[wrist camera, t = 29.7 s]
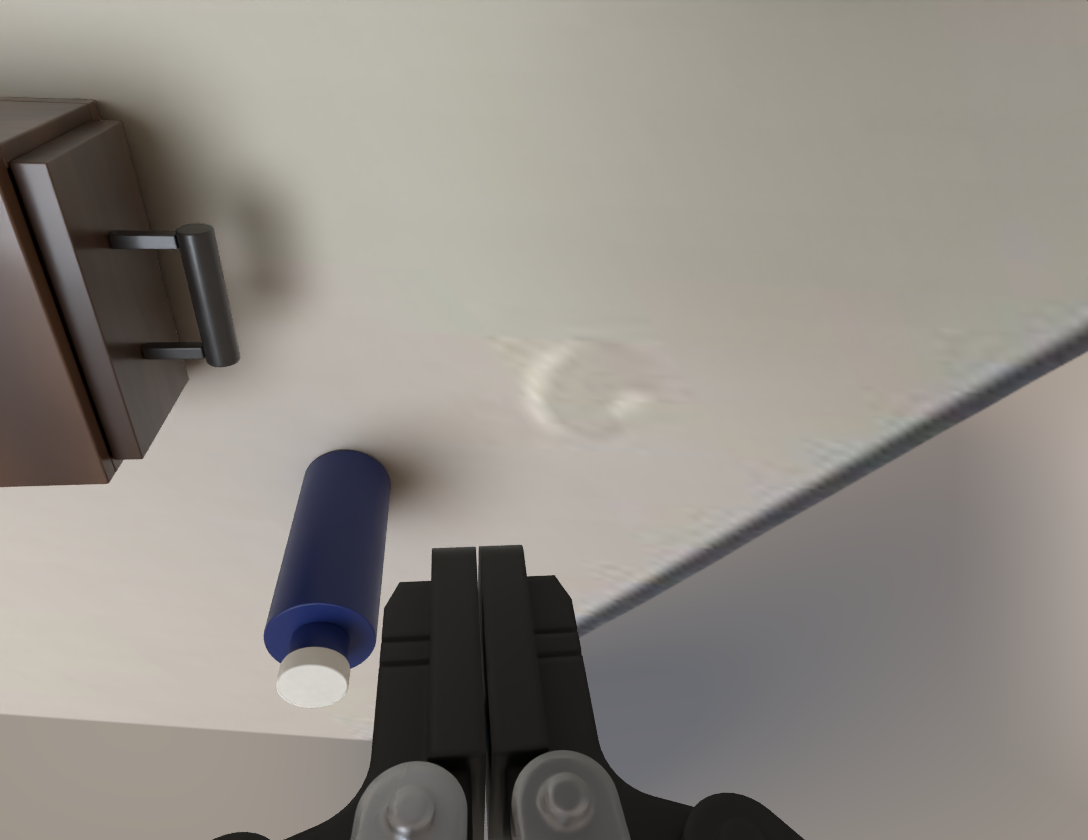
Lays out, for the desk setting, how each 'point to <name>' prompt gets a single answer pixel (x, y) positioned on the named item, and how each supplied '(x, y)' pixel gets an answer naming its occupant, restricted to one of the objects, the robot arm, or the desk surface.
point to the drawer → (119, 281)
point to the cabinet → (40, 330)
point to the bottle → (330, 579)
